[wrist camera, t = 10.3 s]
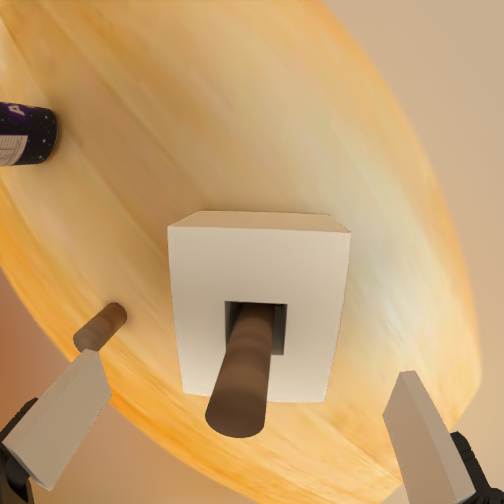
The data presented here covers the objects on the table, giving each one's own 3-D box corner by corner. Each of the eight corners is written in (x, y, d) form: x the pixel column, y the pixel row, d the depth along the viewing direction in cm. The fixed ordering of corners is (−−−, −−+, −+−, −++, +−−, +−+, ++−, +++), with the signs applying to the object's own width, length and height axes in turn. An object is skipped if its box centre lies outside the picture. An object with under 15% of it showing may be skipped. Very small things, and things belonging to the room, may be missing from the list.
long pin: (247, 275, 23) (202, 397, 10) (276, 277, 23) (265, 403, 10) (246, 302, 24) (207, 433, 11) (275, 304, 24) (263, 440, 10)
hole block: (199, 210, 22) (167, 226, 16) (328, 214, 22) (351, 233, 15) (204, 343, 25) (183, 392, 19) (314, 349, 25) (323, 402, 18)
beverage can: (69, 112, 21) (-27, 98, 9) (54, 169, 22) (-43, 179, 11) (37, 107, 21) (-50, 97, 9) (24, 158, 22) (-63, 166, 11)
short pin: (104, 301, 25) (70, 330, 20) (124, 304, 25) (92, 334, 19) (108, 322, 26) (77, 353, 20) (128, 326, 26) (98, 359, 20)
